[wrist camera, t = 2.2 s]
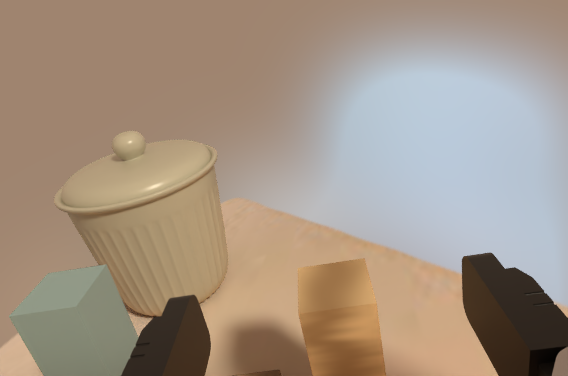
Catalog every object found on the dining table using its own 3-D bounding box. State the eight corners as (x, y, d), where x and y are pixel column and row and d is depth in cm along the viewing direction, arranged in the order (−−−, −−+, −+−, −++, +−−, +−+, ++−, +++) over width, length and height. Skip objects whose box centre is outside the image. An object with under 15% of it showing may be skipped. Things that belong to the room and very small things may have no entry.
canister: (277, 272, 52) (238, 110, 44) (149, 367, 42) (65, 177, 33) (200, 236, 65) (158, 105, 57) (87, 301, 55) (16, 153, 46)
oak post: (384, 403, 33) (364, 258, 28) (396, 459, 29) (376, 303, 23) (328, 409, 34) (298, 268, 28) (333, 465, 29) (298, 313, 24)
